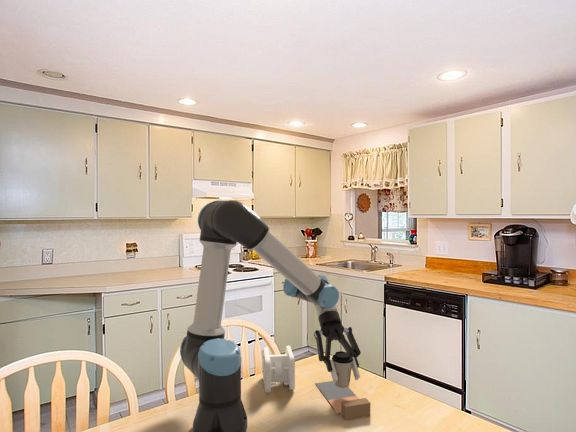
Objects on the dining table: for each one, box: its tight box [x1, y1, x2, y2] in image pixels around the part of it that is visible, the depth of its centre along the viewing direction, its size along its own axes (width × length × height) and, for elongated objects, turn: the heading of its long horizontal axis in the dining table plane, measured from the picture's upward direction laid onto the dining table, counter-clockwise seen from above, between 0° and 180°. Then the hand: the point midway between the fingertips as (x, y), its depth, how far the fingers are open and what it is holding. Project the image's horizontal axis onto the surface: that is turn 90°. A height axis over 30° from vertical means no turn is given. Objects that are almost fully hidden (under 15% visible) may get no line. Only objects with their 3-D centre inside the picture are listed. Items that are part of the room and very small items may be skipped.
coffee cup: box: [331, 350, 353, 388], centre depth 123 cm, size 7×7×10 cm
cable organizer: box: [261, 345, 296, 394], centre depth 131 cm, size 15×11×12 cm
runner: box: [315, 380, 371, 421], centre depth 122 cm, size 24×10×4 cm, turn 15°
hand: (346, 379), depth 119 cm, fingers closed on coffee cup, 7 cm apart
